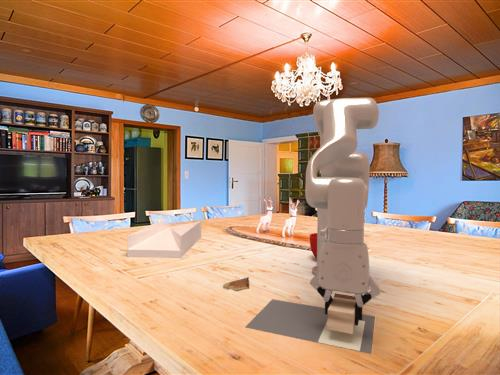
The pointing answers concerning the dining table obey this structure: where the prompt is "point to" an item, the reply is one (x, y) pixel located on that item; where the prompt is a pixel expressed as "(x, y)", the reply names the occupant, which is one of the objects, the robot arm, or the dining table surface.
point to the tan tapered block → (342, 314)
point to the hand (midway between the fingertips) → (343, 319)
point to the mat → (312, 325)
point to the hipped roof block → (163, 240)
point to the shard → (238, 284)
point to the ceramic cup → (313, 244)
